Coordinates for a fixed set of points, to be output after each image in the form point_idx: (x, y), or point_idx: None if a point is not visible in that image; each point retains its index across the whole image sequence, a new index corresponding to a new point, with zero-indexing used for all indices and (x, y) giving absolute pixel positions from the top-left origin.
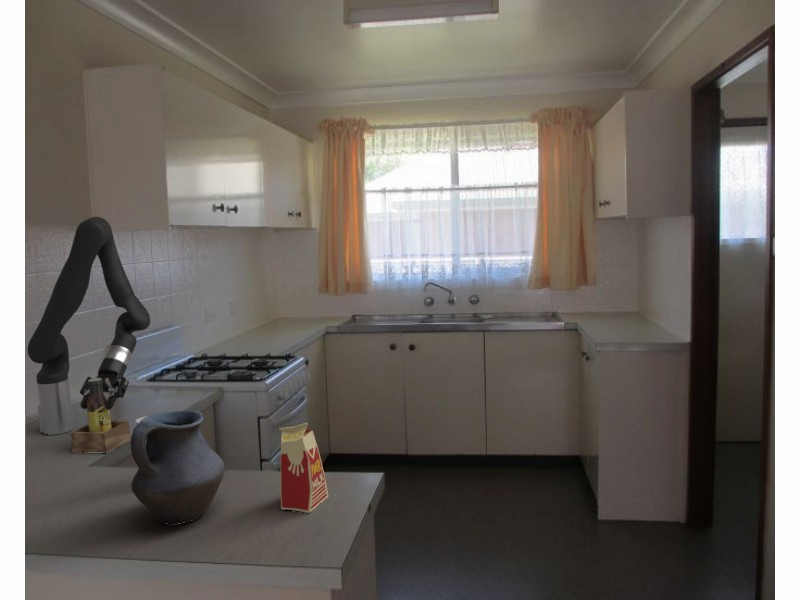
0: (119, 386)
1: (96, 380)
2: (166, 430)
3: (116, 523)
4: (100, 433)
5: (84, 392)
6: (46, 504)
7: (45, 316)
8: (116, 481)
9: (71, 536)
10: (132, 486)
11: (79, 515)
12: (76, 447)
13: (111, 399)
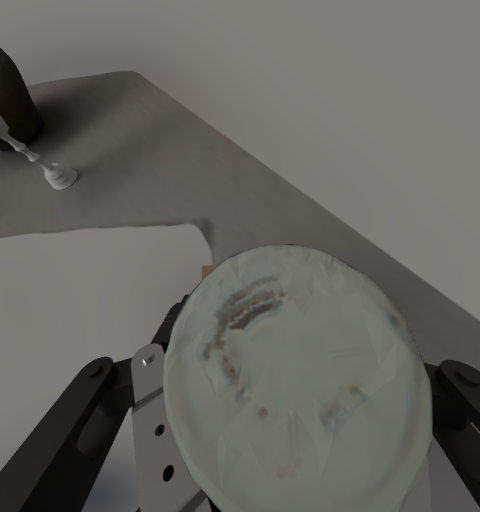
0: (48, 445)
1: (197, 290)
2: None
3: (81, 110)
4: (214, 265)
5: (434, 384)
6: (182, 120)
7: None
8: (128, 181)
9: (113, 89)
10: (1, 49)
11: (127, 113)
12: None
13: (164, 332)
